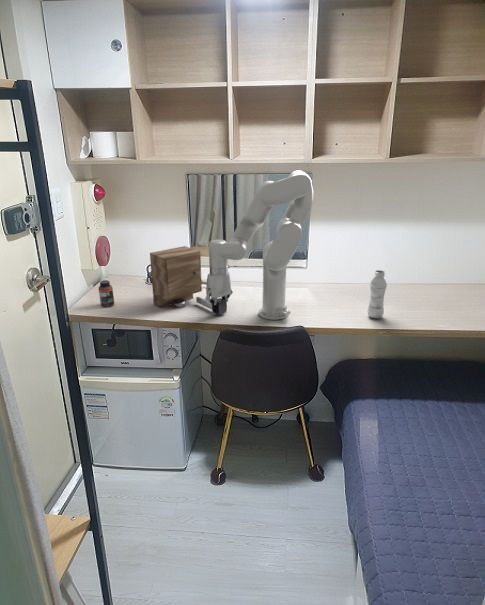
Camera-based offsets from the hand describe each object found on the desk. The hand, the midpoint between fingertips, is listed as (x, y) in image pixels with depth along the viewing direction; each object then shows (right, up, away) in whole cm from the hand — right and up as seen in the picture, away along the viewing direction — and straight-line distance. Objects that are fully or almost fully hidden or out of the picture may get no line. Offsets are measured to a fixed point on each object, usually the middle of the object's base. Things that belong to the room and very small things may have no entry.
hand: (219, 311), depth 194 cm
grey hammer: (-5, +1, +5) cm, 7 cm away
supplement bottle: (-51, +2, +11) cm, 52 cm away
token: (-18, +2, +10) cm, 21 cm away
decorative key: (-9, +11, +34) cm, 36 cm away
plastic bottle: (+65, -3, -2) cm, 65 cm away
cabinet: (-19, +3, +12) cm, 23 cm away
